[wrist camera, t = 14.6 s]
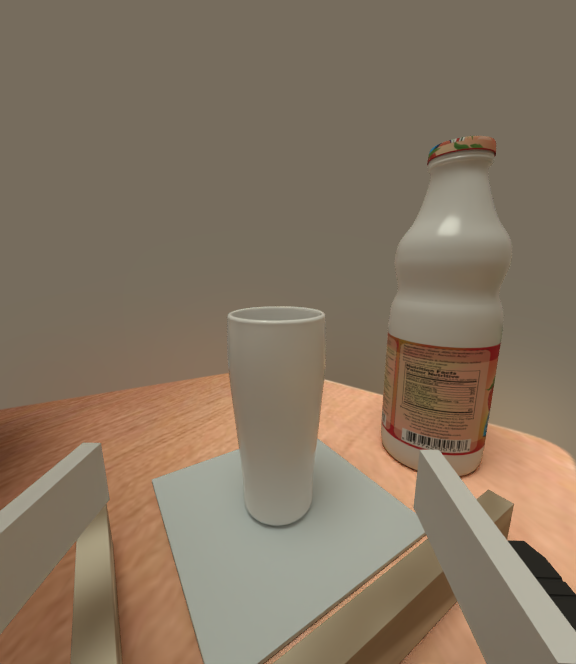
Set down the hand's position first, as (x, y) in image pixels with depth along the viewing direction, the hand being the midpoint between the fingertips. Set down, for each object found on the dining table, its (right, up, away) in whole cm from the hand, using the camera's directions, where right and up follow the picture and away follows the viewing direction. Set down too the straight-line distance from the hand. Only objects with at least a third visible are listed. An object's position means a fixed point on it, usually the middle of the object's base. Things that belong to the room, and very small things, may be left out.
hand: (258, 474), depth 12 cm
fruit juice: (+16, -6, +19) cm, 25 cm away
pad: (0, -8, +11) cm, 14 cm away
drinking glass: (0, -8, +11) cm, 14 cm away
